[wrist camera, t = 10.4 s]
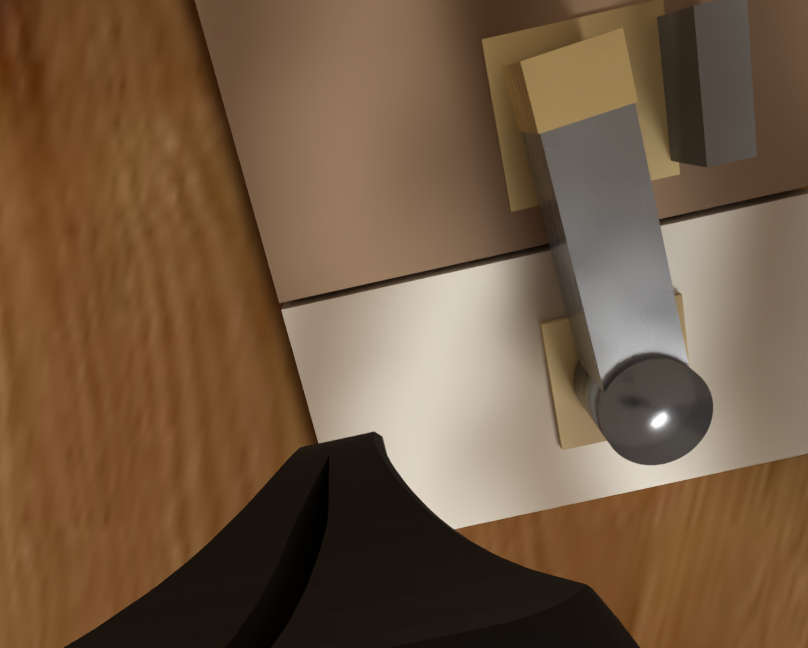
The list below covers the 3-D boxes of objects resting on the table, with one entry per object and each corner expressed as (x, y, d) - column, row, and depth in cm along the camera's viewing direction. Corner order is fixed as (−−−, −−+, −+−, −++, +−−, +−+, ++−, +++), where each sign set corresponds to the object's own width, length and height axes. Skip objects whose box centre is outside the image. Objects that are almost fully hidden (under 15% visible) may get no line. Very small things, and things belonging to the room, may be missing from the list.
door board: (778, -171, 18) (864, -229, 15) (807, 435, 23) (875, 486, 20) (192, -35, 18) (155, -65, 15) (349, 533, 23) (346, 598, 20)
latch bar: (678, 404, 21) (721, 446, 18) (585, 432, 21) (616, 478, 18) (598, 34, 18) (638, 22, 15) (490, 70, 18) (511, 64, 15)
